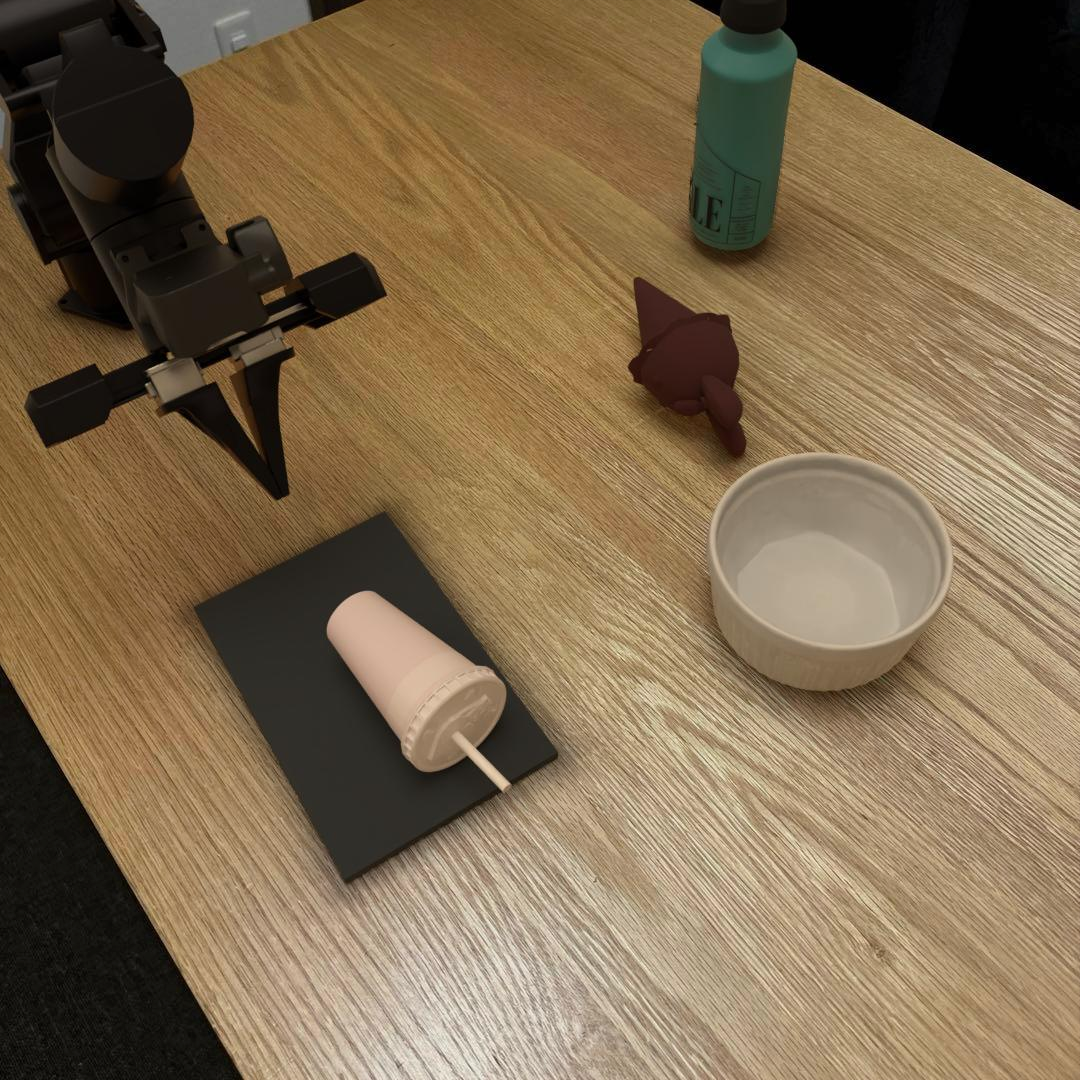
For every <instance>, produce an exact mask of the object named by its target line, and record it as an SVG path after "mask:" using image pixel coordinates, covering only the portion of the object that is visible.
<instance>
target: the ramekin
mask: <svg viewBox="0 0 1080 1080" xmlns="http://www.w3.org/2000/svg"><path fill="white" fill-rule="evenodd" d="M707 529H708V530H707V535H706V539H705V540H706V541H705V559H706V566H707V570H708V574H709V577H710V588H711V599H712V606H713V613H714V615H715V618H716V621H717V625H718V627H719V629H720V630H721V634H722V636H723V637H724V638H725V640H726V642H727V643H728V645H729V646H730V647H731V648H732V649H733V650H734V652H735V653H736V655H737V656H739V657H740V658H741V659H743V661H744V662H745V663H746V664H747V665H748V666H750V667H752V668H754V669H755V670H756V671H757V672H758V673H760V674H762V675H764V676H765V677H767V678H768V679H770V680H772V681H776V682H778V683H780V684H782V685H785V686H790V687H792V688H794V689H801V690H806V691H810V692H811V691H812V692H813V691H817V692H818V691H820V692H828V691H836V692H838V691H839V692H840V691H842V690H847V689H848V690H852V689H854V688H856V687H858V686H865V685H867V684H868V683H870V681H874V680H877V679H879V678H880V677H881V676H882V675H883V674H886V673H888V672H890V671H891V670H892V669H893V667H894V666H896V665H897V664H898V663H900V661H902V659H904V657H905V656H906V654H907V653H908V652H909V651H910V650H911V649H912V647H913V646H914V644H915V643H916V641H917V640H918V639H919V637H920V636H921V635H923V633H925V632H926V631H927V630H928V629H929V627H930V626H931V625H932V624H933V623H934V621H936V619H937V617H938V616H939V614H940V612H941V611H942V609H943V607H944V605H945V603H946V601H947V598H948V594H949V593H950V588H951V585H952V582H953V577H954V570H955V555H954V548H953V544H952V540H951V536H950V533H949V531H948V529H947V526H946V524H945V522H944V519H943V518H942V516H941V515H940V512H938V510H937V509H936V507H935V506H934V505H933V504H932V502H931V501H930V499H929V498H928V497H927V496H926V495H925V494H924V493H923V492H922V491H921V490H919V489H918V487H917V486H915V485H914V484H913V483H912V482H910V481H909V480H907V479H906V478H905V477H903V476H901V475H900V474H899V473H897V472H895V471H893V470H891V469H890V468H888V467H885V466H884V465H881V464H879V463H877V462H874V461H871V460H868V459H865V458H862V457H858V456H854V455H850V454H844V453H837V452H825V451H810V452H799V453H792V454H789V455H788V454H787V455H783V456H780V457H776V458H772V459H771V460H768V461H765V462H763V463H760V464H759V465H757V466H755V467H753V468H751V469H749V470H748V471H746V472H745V473H743V474H742V475H741V476H740V477H738V478H737V479H736V480H735V481H734V482H732V484H730V486H728V488H727V489H726V491H725V492H723V494H722V495H721V497H720V499H719V500H718V502H717V503H716V505H715V507H714V510H713V512H712V515H711V518H710V521H709V525H708V528H707Z"/></svg>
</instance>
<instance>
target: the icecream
mask: <svg viewBox="0 0 1080 1080" xmlns="http://www.w3.org/2000/svg"><path fill="white" fill-rule="evenodd" d="M632 282H633V283H632V284H633V292H634V293H633V294H634V300H635V306H636V315H637V322H638V330H639V336H640V344H641V345H640V346H641V349H640V351H639V352H638V354H637V355H636V356H634V357H633V358H631V359H630V361H629V363H628V365H627V370H628V371H629V373H630V374H631V376H632V381H633V383H636V384H639V385H641V386H643V387H644V389H645V390H646V392H648V393H649V394H650V395H651V396H652V397H653V398H655V399H656V400H657V402H658V405H659V407H661V408H664V409H669V410H671V411H673V412H674V413H675V414H676V415H678V416H681V417H685V418H693V417H696V416H699V415H701V414H703V413H705V414H706V416H707V419H708V423H709V424H710V426H711V428H712V430H713V432H714V434H715V436H716V438H717V440H718V442H719V444H721V446H722V447H723V448H724V450H725V451H726V452H727V453H728V455H730V456H731V457H732V458H740V457H741V456H742V455H743V454H744V453H745V452H746V450H747V443H748V441H747V438H746V435H745V431H744V428H743V425H742V424H741V423H740V420H741V418H742V416H743V411H744V404H743V402H742V400H741V398H740V397H739V395H738V393H737V392H736V391H735V390H734V386H735V383H736V379H737V376H738V372H739V368H740V351H739V349H738V345H737V343H736V340H735V339H734V336H733V329H732V326H731V318H730V316H729V315H728V314H726V313H725V314H724V313H720V314H717V313H714V312H710V311H709V312H699V313H696V312H695V311H694V310H692V309H690V308H689V307H687V306H686V305H684V304H683V303H681V302H680V301H678V300H677V299H675V298H673V297H672V296H670V295H669V294H667V293H666V292H664V291H662V290H661V289H660V288H658V287H656V285H654V284H652V283H650V282H649V281H648V280H646V279H645V278H642V277H641V276H636V277H634V278H633V281H632Z"/></svg>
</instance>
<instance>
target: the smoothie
mask: <svg viewBox="0 0 1080 1080" xmlns="http://www.w3.org/2000/svg"><path fill="white" fill-rule="evenodd" d="M327 636H328V638H329V640H330V641H331V643H332V644H333V646H334V647H335V648H336V650H337V651H338V653H339V654H340V656H341V657H342V658H343V660H344V661H345V663H346V664H347V665H348V667H349V668H350V670H351V671H352V673H353V674H354V675H355V677H356V678H357V680H358V681H359V683H360V684H361V685H362V687H363V688H364V690H365V691H366V693H367V694H368V695H369V697H370V698H371V700H372V701H373V702H374V704H375V705H376V707H377V708H378V710H379V711H380V712H381V714H382V715H383V717H384V718H385V720H386V721H387V722H388V724H389V726H390V727H391V728H392V730H393V731H394V733H395V734H396V735H397V737H398V738H399V739H400V741H401V748H402V753H403V755H404V756H405V757H406V759H407V760H409V761H410V762H411V763H412V764H413V765H414V766H415V767H416V768H417V769H419V770H420V771H424V772H434V771H439V770H442V769H445V768H448V767H450V766H452V765H454V764H456V763H457V762H459V761H460V760H462V759H463V758H465V757H466V756H468V757H469V758H470V759H471V760H472V761H473V762H474V763H475V764H476V765H477V766H478V767H479V768H480V769H481V770H482V771H483V772H484V773H485V774H486V775H487V776H488V777H489V778H490V779H491V780H492V781H493V782H494V783H495V784H496V785H497V786H498V787H499V788H500V789H501V790H502V791H501V792H502V793H504V794H505V793H507V792H508V791H510V790H511V788H512V785H511V784H510V783H509V782H508V781H507V780H506V779H505V778H504V777H503V776H502V775H501V774H500V773H499V772H498V771H497V769H496V768H495V767H494V766H493V765H492V764H491V763H490V762H489V761H488V760H487V759H486V758H485V757H484V756H483V755H482V754H481V753H480V752H479V751H478V750H477V749H476V748H477V747H478V746H479V745H480V744H481V743H482V742H483V740H484V739H485V738H486V737H487V736H488V735H489V733H490V732H491V731H492V729H493V728H494V726H495V725H496V723H497V721H498V720H499V718H500V716H501V713H502V711H503V709H504V705H505V702H506V688H505V685H504V683H503V682H502V681H501V680H500V679H499V678H498V677H497V676H496V675H495V673H494V671H493V670H491V669H490V668H488V667H486V666H476V665H475V664H473V663H472V662H471V661H469V660H468V659H467V658H465V657H464V656H463V655H461V654H460V653H458V652H457V651H455V650H454V649H453V648H451V647H450V646H448V645H447V644H446V643H444V642H443V641H442V640H440V639H439V638H437V637H436V636H435V635H433V634H432V633H431V632H429V631H428V630H426V629H425V628H424V627H422V626H421V625H419V624H418V623H417V622H415V621H414V620H413V619H411V618H410V617H408V616H407V615H406V614H404V613H403V612H402V611H400V610H399V609H397V608H396V607H395V606H393V605H392V604H390V603H389V602H388V601H386V600H385V599H384V598H382V597H381V596H379V595H378V594H377V593H375V592H373V591H362V592H359V593H356V594H354V595H352V596H350V597H349V598H347V599H346V600H345V601H344V602H342V603H341V604H340V605H339V606H338V607H337V609H336V610H335V611H334V613H333V614H332V616H331V618H330V620H329V622H328V625H327Z"/></svg>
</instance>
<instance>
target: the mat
mask: <svg viewBox="0 0 1080 1080" xmlns="http://www.w3.org/2000/svg"><path fill="white" fill-rule="evenodd" d="M362 591H373V592H375V593H377V594H378V595H379V596H381V597H382V598H384V599H385V600H386V601H388V602H389V603H390V604H392V605H393V606H395V607H396V608H397V609H399V610H400V611H402V612H403V613H404V614H406V615H407V616H408V617H410V618H411V619H413V620H414V621H415V622H417V623H418V624H419V625H421V626H422V627H424V628H425V629H426V630H428V631H429V632H431V633H432V634H433V635H435V636H436V637H437V638H439V639H440V640H442V641H443V642H444V643H446V644H447V645H448V646H450V647H451V648H453V649H454V650H455V651H457V652H458V653H460V654H461V655H463V656H464V657H465V658H467V659H468V660H469V661H471V662H472V663H473V664H475V665H476V666H486V667H488V668H490V669H491V670H493V671H494V673H495V675H496V676H497V677H498V678H499V679H500V680H501V681H502V682H503V683H504V685H505V688H506V702H505V705H504V709H503V711H502V713H501V716H500V718H499V720H498V721H497V723H496V725H495V726H494V728H493V729H492V731H491V732H490V733H489V735H488V736H487V737H486V738H485V739H484V740H483V742H482V743H481V744H480V745H479V746H478V747H477V748H476V749H477V750H478V751H479V752H480V753H481V754H482V755H483V756H484V757H485V758H486V759H487V760H488V761H489V762H490V763H491V764H492V765H493V766H494V767H495V768H496V769H497V771H498V772H499V773H500V774H501V775H502V776H503V777H504V778H505V779H506V780H507V781H508V782H509V783H510V784H511V786H512V785H514V784H516V783H517V782H519V781H521V780H522V779H524V778H526V777H527V776H529V775H531V774H532V773H534V772H536V771H538V770H539V769H541V768H543V767H544V766H545V765H547V764H549V763H550V762H553V761H554V760H556V759H557V758H558V757H559V752H558V749H556V747H555V746H554V745H553V743H552V741H551V740H550V739H549V737H548V736H547V735H546V733H545V732H544V730H543V729H542V728H541V726H540V725H539V723H538V722H537V721H536V720H535V718H534V717H533V715H532V714H531V712H530V711H529V709H528V708H527V707H526V705H525V704H524V702H523V701H522V700H521V698H520V697H519V695H518V694H517V693H516V692H515V689H513V687H512V686H511V684H510V683H509V682H508V680H507V679H506V677H505V676H504V674H503V673H502V672H501V670H500V669H499V667H498V665H496V663H495V662H494V660H493V659H492V658H491V656H490V655H489V653H488V652H487V650H485V648H484V647H483V645H482V644H481V642H480V641H479V640H478V638H477V637H476V636H475V634H474V633H473V631H472V630H471V628H470V627H469V625H468V624H467V622H466V621H465V620H464V618H463V617H462V616H461V615H460V613H459V611H458V610H457V609H456V608H455V606H454V605H453V604H452V602H451V601H450V599H449V598H448V596H447V595H446V594H445V592H444V591H443V589H442V588H441V587H440V585H439V584H438V582H437V581H436V580H435V578H434V577H433V575H432V574H431V573H430V571H429V570H428V568H427V567H426V565H425V564H424V563H423V561H422V560H421V559H420V557H419V556H418V554H417V553H416V552H415V550H414V549H413V547H412V546H411V545H410V543H409V542H408V540H407V539H406V538H405V536H404V535H403V533H402V532H401V531H400V529H399V528H398V526H397V525H396V523H394V521H393V520H392V518H391V517H390V515H389V514H388V512H387V511H386V510H384V511H382V512H379V513H378V514H375V515H373V516H372V517H370V518H367V519H365V520H363V521H362V522H359V523H358V524H356V525H354V526H352V527H350V528H348V529H346V530H344V531H342V532H340V533H337V534H336V535H334V536H332V537H330V538H328V539H325V540H324V541H322V542H320V543H318V544H315V545H313V546H312V547H309V548H308V549H306V550H304V551H302V552H300V553H298V554H295V555H294V556H292V557H290V558H288V559H286V560H284V561H282V562H280V563H278V564H275V565H274V566H271V567H270V568H268V569H266V570H263V571H262V572H260V573H258V574H256V575H254V576H252V577H250V578H248V579H246V580H244V581H241V582H240V583H238V584H236V585H234V586H231V587H230V588H227V589H225V590H224V591H221V592H220V593H218V594H216V595H213V596H212V597H209V598H208V599H206V600H203V601H202V602H200V603H198V604H196V605H194V606H193V610H194V612H195V614H196V616H197V617H198V619H199V621H200V623H201V625H202V627H203V628H204V630H205V632H206V634H207V636H208V637H209V639H210V641H211V643H212V644H213V647H214V649H215V650H216V652H217V653H218V655H219V657H220V659H221V661H222V662H223V664H224V666H225V668H226V670H227V671H228V674H229V675H230V677H231V679H232V680H233V683H234V684H235V686H236V688H237V690H238V692H239V693H240V695H241V697H242V699H243V701H244V702H245V704H246V706H247V708H248V709H249V711H250V713H251V716H252V717H253V719H254V720H255V722H256V723H257V726H258V727H259V729H260V732H261V733H262V735H263V736H264V739H265V740H266V742H267V744H268V746H269V747H270V749H271V751H272V753H273V755H274V757H275V759H276V760H277V762H278V764H279V766H280V768H281V769H282V771H283V773H284V775H285V776H286V778H287V780H288V783H289V784H290V785H291V787H292V789H293V791H294V793H295V794H296V796H297V798H298V800H299V801H300V803H301V805H302V807H303V809H304V810H305V812H306V814H307V816H308V818H309V820H310V821H311V824H312V825H313V827H314V829H315V831H316V832H317V834H318V836H319V838H320V839H321V841H322V843H323V845H324V848H326V850H327V853H328V854H329V856H330V858H331V860H332V862H333V864H334V865H335V867H336V868H337V870H338V872H339V874H340V877H342V880H343V881H344V883H345V884H348V883H351V882H352V881H354V880H355V879H357V878H359V877H360V876H362V875H363V874H365V873H368V872H369V871H371V870H372V869H374V868H376V867H377V866H379V865H381V864H382V863H383V862H385V861H387V860H388V859H390V858H392V857H394V856H396V855H397V854H399V853H401V852H403V851H404V850H406V849H407V848H409V847H410V846H412V845H414V844H415V843H417V842H419V841H421V840H422V839H424V838H426V837H428V836H429V835H430V834H432V833H434V832H435V831H437V830H439V829H441V828H443V827H444V826H445V825H447V824H449V823H451V822H452V821H454V820H456V819H457V818H459V817H460V816H462V815H464V814H466V813H467V812H469V811H471V810H472V809H473V808H475V807H477V806H479V805H481V804H482V803H484V802H486V801H487V800H489V799H490V798H492V797H494V796H496V795H497V794H498V793H501V792H502V790H501V789H500V788H499V787H498V786H497V785H496V784H495V783H494V782H493V781H492V780H491V779H490V778H489V777H488V776H487V775H486V774H485V773H484V772H483V771H482V770H481V769H480V768H479V767H478V766H477V765H476V764H475V763H474V762H473V761H472V760H471V759H470V758H469V757H468V756H466V757H465V758H463V759H462V760H460V761H459V762H457V763H456V764H454V765H452V766H450V767H448V768H445V769H442V770H439V771H434V772H424V771H420V770H419V769H417V768H416V767H415V766H414V765H413V764H412V763H411V762H410V761H409V760H407V759H406V757H405V756H404V755H403V753H402V748H401V741H400V739H399V738H398V737H397V735H396V734H395V733H394V731H393V730H392V728H391V727H390V726H389V724H388V722H387V721H386V720H385V718H384V717H383V715H382V714H381V712H380V711H379V710H378V708H377V707H376V705H375V704H374V702H373V701H372V700H371V698H370V697H369V695H368V694H367V693H366V691H365V690H364V688H363V687H362V685H361V684H360V683H359V681H358V680H357V678H356V677H355V675H354V674H353V673H352V671H351V670H350V668H349V667H348V665H347V664H346V663H345V661H344V660H343V658H342V657H341V656H340V654H339V653H338V651H337V650H336V648H335V647H334V646H333V644H332V643H331V641H330V640H329V638H328V636H327V625H328V622H329V620H330V618H331V616H332V614H333V613H334V611H335V610H336V609H337V607H338V606H339V605H340V604H341V603H342V602H344V601H345V600H346V599H347V598H349V597H350V596H352V595H354V594H356V593H359V592H362Z"/></svg>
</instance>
